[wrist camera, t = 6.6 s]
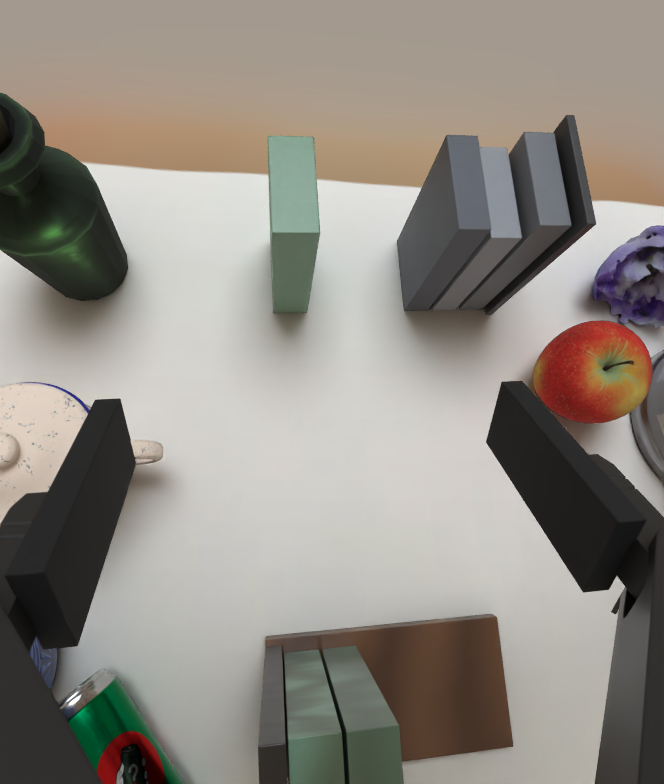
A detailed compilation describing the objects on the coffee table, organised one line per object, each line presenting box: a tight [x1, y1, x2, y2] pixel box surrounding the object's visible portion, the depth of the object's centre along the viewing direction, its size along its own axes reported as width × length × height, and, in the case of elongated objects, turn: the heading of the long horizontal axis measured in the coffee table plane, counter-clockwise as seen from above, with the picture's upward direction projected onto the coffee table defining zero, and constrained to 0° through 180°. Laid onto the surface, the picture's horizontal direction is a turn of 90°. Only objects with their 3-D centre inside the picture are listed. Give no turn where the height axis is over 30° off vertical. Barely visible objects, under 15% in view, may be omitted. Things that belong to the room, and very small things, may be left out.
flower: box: [593, 226, 664, 328], centre depth 43 cm, size 9×9×10 cm
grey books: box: [397, 115, 596, 315], centre depth 37 cm, size 8×8×15 cm
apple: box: [533, 321, 652, 423], centre depth 38 cm, size 8×8×10 cm
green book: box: [268, 136, 320, 313], centre depth 36 cm, size 3×7×13 cm, turn 4°
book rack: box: [258, 614, 513, 784], centre depth 29 cm, size 18×9×16 cm, turn 94°
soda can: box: [58, 668, 185, 784], centre depth 31 cm, size 5×5×12 cm
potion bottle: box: [0, 93, 128, 301], centre depth 32 cm, size 8×8×18 cm
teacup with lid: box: [0, 382, 163, 526], centre depth 32 cm, size 12×9×12 cm
